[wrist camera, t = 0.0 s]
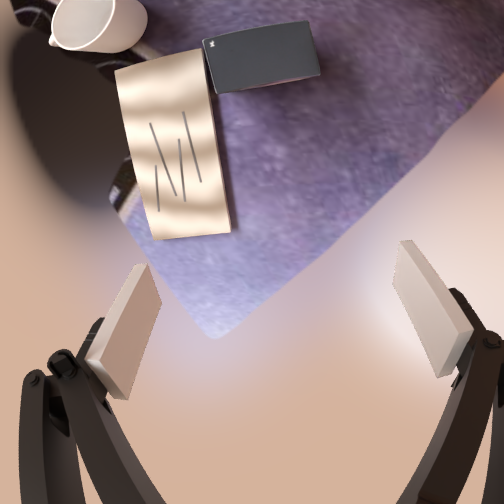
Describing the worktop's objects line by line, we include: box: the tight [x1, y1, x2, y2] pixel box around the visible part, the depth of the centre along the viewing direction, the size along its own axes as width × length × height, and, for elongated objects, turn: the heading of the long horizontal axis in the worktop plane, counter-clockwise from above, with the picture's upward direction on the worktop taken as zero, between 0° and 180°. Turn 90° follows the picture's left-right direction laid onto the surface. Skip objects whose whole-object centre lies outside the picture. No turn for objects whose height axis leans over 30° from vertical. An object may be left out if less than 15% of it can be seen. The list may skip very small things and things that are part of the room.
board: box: [115, 48, 232, 240], centre depth 39 cm, size 26×12×2 cm, turn 7°
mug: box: [49, 0, 148, 53], centre depth 25 cm, size 9×12×11 cm
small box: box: [202, 20, 320, 94], centre depth 29 cm, size 11×6×10 cm, turn 103°
